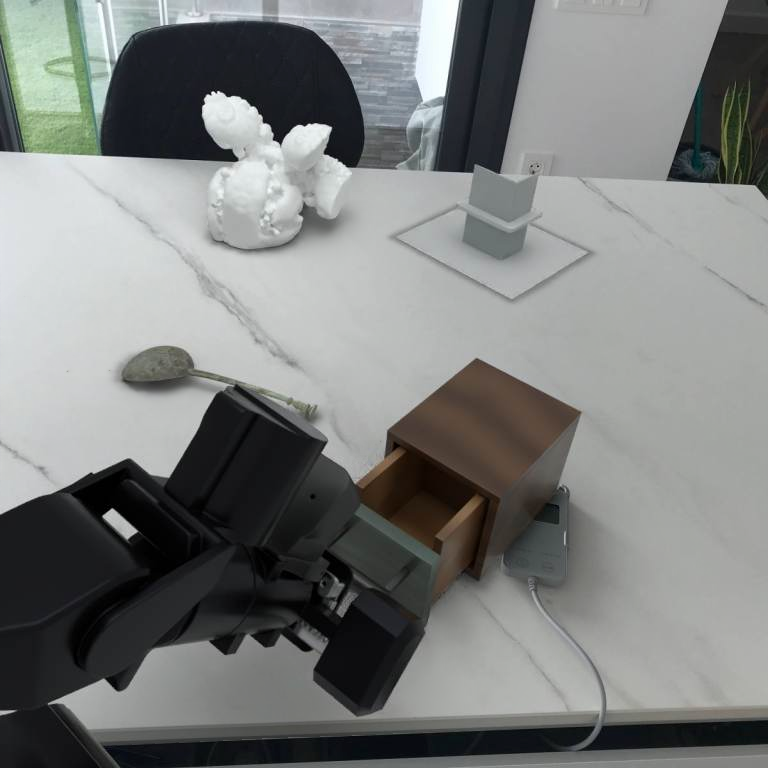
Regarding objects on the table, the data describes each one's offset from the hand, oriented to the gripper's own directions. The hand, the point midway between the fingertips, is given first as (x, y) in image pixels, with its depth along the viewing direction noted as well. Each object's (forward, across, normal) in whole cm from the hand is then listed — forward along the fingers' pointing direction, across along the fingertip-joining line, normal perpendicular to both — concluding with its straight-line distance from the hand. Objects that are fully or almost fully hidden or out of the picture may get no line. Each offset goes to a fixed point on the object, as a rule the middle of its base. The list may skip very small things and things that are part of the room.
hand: (337, 579), depth 55 cm
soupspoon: (+16, +29, -4) cm, 33 cm away
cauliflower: (+38, +50, -26) cm, 68 cm away
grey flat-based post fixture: (+50, +25, -38) cm, 68 cm away
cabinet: (+19, 0, -8) cm, 21 cm away
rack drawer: (+11, 0, -1) cm, 11 cm away
